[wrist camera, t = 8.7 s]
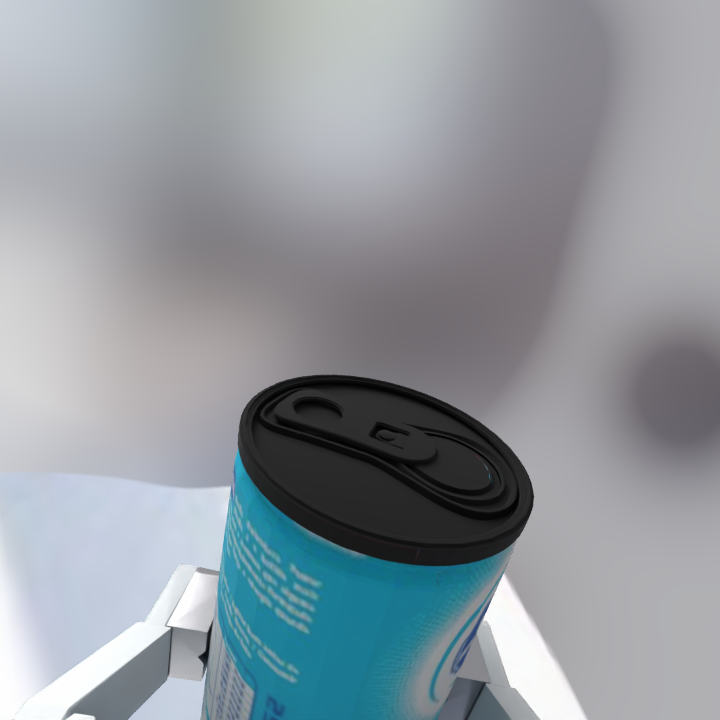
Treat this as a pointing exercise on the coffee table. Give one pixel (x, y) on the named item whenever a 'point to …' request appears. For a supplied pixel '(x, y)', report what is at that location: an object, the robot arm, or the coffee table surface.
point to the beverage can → (357, 552)
